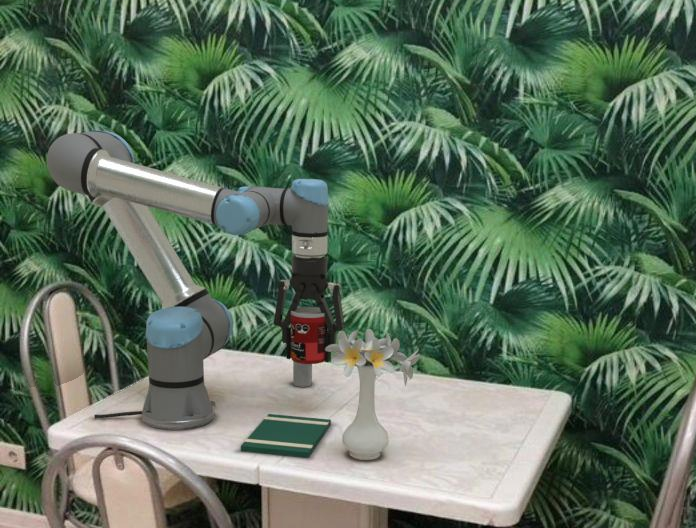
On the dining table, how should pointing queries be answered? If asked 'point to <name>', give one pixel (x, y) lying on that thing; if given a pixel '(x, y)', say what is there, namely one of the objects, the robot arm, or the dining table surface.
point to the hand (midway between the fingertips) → (308, 358)
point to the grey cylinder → (302, 374)
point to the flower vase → (368, 387)
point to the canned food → (308, 335)
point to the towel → (286, 435)
